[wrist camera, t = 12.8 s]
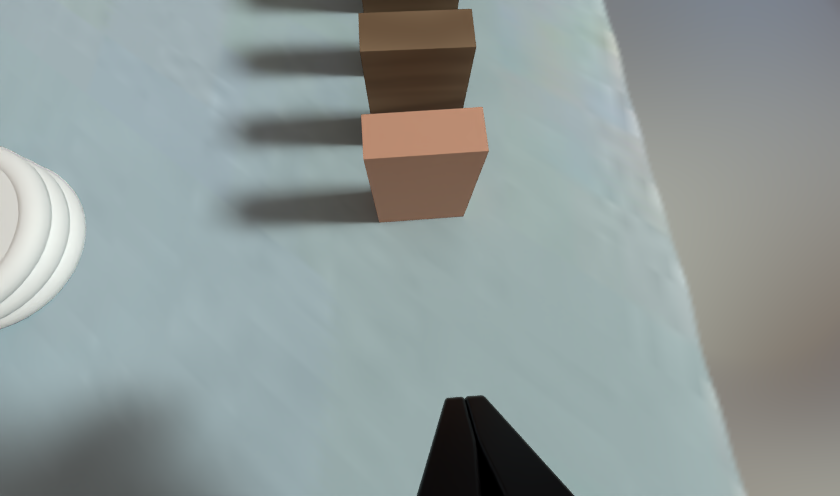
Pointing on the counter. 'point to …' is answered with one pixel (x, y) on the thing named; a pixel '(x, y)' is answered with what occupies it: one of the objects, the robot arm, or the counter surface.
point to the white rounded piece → (35, 236)
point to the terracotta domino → (423, 161)
